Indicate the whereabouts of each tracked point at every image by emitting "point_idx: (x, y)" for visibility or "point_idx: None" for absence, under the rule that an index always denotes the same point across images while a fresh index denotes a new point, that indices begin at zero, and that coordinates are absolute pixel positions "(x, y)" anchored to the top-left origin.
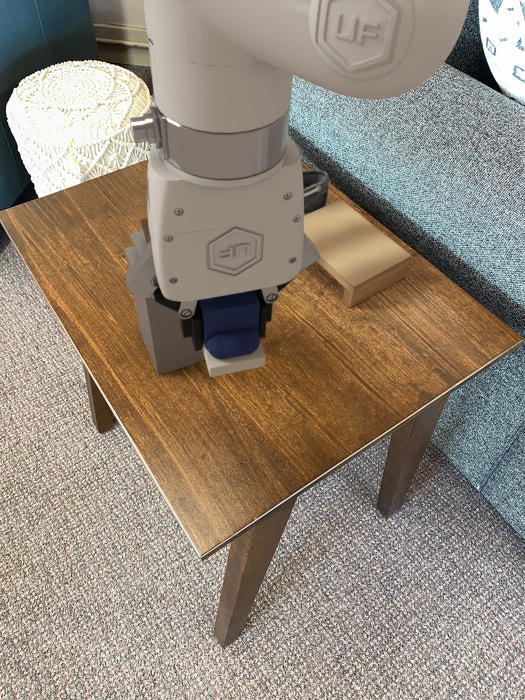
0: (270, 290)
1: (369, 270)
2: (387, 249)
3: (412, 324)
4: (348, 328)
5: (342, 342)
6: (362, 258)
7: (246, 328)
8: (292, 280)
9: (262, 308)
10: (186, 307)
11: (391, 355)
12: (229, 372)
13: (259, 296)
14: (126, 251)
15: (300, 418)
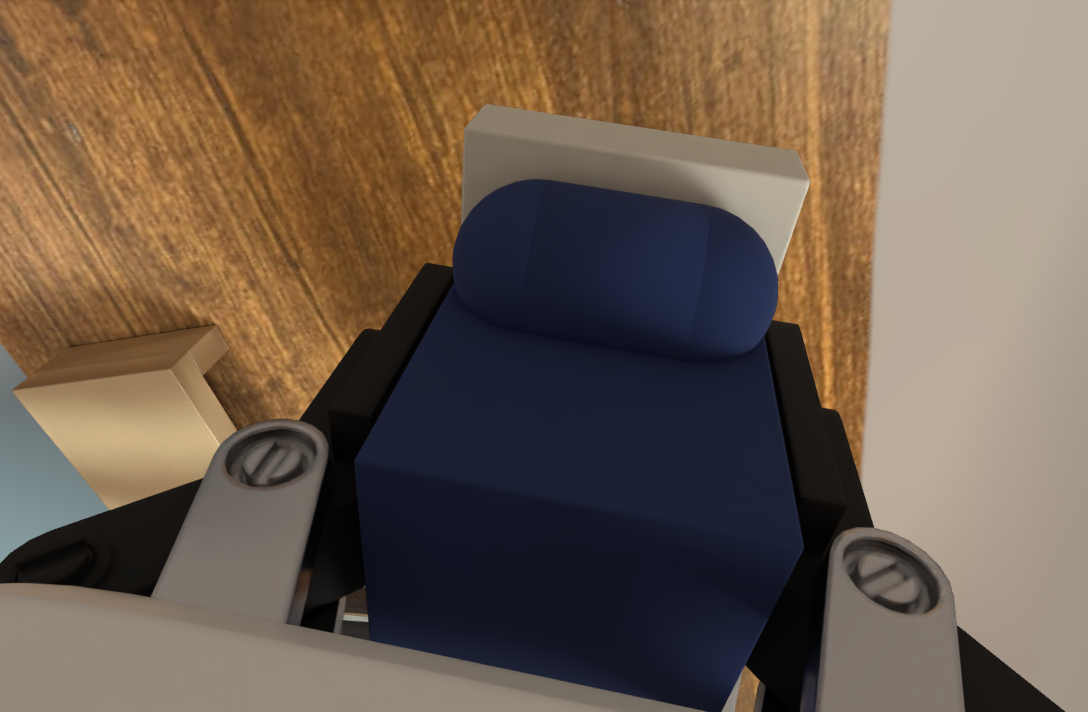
0: (245, 516)
1: (123, 394)
2: (70, 427)
3: (67, 223)
4: (231, 275)
5: (255, 245)
6: (135, 428)
7: (512, 326)
8: (78, 521)
9: (365, 409)
10: (906, 631)
11: (137, 159)
12: (687, 136)
13: (354, 491)
14: (731, 707)
15: (428, 70)
